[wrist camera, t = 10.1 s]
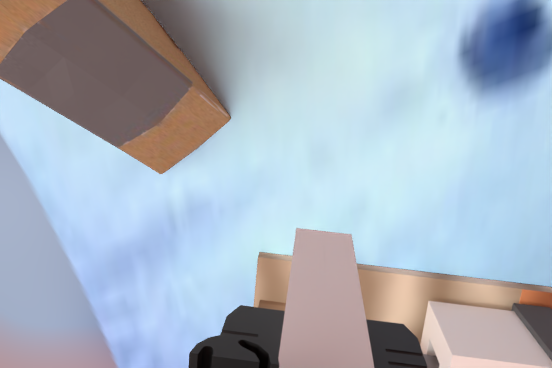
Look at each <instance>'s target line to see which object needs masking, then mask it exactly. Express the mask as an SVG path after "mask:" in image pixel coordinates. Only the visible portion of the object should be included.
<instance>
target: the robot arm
mask: <svg viewBox="0 0 552 368" xmlns="http://www.w3.org/2000/svg"><path fill="white" fill-rule="evenodd" d="M189 368H427V364H426V361H425V358H424V356H423V352H422V349H421V346H420V343H419V341H418V338H417V337H416V336H415V335H414V334H413V333H412V332H411V331H410V330H409V329H408V328H407V327H406V326H405V325H404V324H399V323H391V322H383V321H375V320H367V319H366V316H365V310H364V305H363V299H362V293H361V287H360V281H359V276H358V270H357V264H356V258H355V252H354V247H353V241H352V235H351V234H343V233H334V232H326V231H317V230H308V229H300V228H296V235H295V242H294V249H293V256H292V264H291V271H290V278H289V285H288V292H287V300H286V307H285V311H282V310H274V309H266V308H258V307H250V306H242V305H241V306H239V307H238V308H237V309H235V310H234V311H233V312H231V313H230V314H229V315H228V316H227V318H226V320H225V323H224V326H223V329H222V332H221V334H220V335H219V336H215V337H210V338H208V339H206V340H204V341H202V342H200V343H198V344H197V345H196V346H195V347H194V348H193V349H192V351H191V352H190V354H189Z"/></svg>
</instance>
